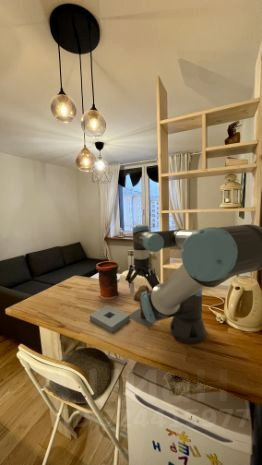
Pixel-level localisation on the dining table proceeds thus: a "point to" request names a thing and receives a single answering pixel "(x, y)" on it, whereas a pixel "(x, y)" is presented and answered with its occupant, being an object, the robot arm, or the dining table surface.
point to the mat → (137, 317)
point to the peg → (141, 309)
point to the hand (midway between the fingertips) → (142, 298)
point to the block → (111, 323)
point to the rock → (139, 291)
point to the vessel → (108, 279)
